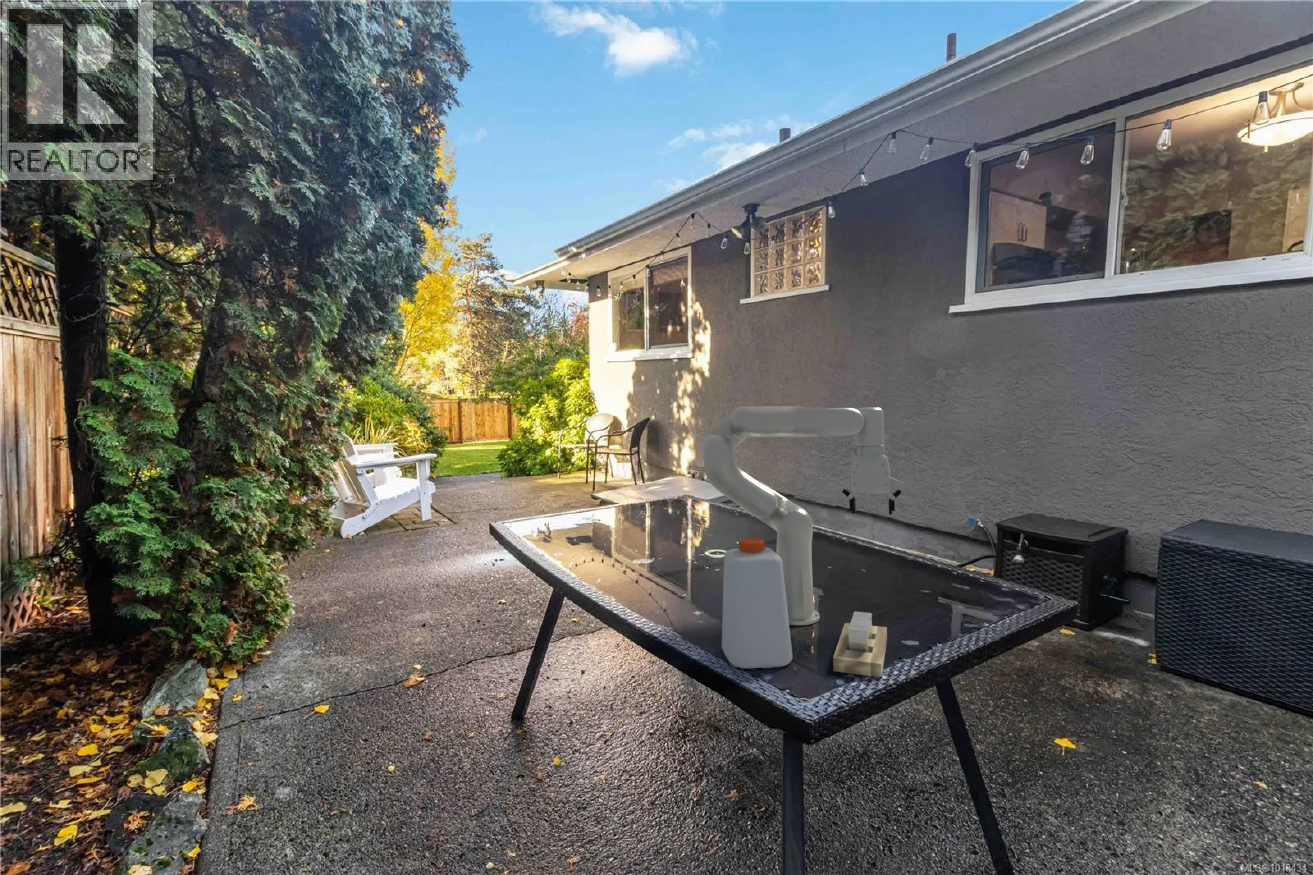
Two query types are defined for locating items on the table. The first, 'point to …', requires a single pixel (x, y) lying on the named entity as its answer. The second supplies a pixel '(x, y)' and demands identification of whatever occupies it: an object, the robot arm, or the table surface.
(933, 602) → the table surface
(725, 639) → the plastic bottle
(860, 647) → the brushed steel block
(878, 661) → the birch rail
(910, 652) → the table surface
